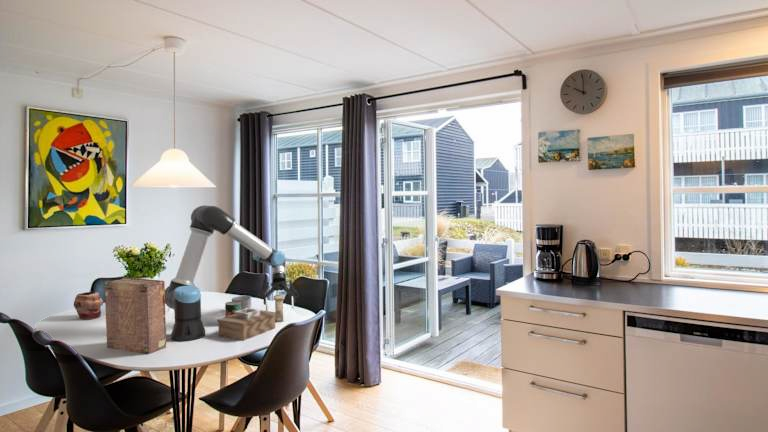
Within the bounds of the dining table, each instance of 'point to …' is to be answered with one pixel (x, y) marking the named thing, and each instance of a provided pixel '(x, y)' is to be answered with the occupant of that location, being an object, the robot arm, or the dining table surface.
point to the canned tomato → (232, 307)
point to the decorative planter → (88, 305)
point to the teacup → (243, 301)
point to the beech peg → (279, 307)
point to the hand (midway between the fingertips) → (279, 308)
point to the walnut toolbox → (246, 323)
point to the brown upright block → (135, 314)
